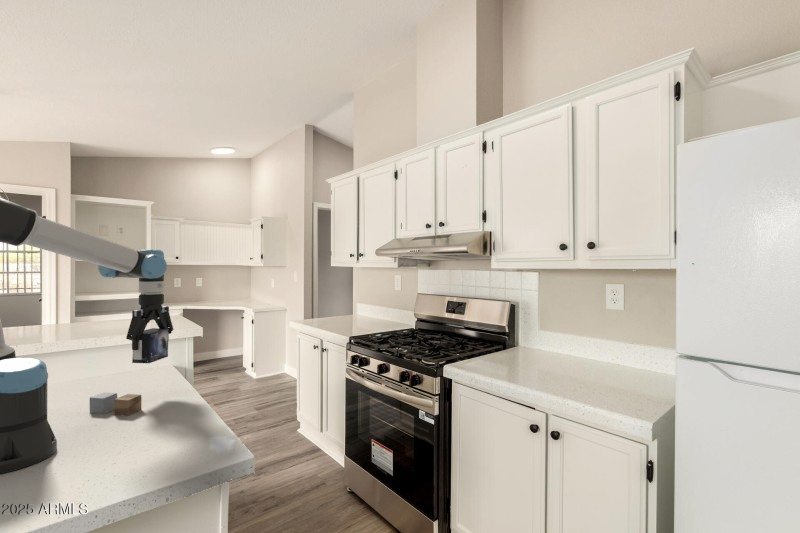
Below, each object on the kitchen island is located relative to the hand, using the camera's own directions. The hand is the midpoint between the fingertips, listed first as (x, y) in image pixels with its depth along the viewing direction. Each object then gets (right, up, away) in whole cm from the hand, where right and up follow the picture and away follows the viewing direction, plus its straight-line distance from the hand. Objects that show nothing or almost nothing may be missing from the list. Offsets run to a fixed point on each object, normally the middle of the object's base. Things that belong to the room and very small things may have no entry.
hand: (151, 355), depth 138 cm
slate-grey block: (-7, -15, -13) cm, 21 cm away
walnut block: (+2, -15, -14) cm, 21 cm away
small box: (0, -2, 0) cm, 2 cm away
